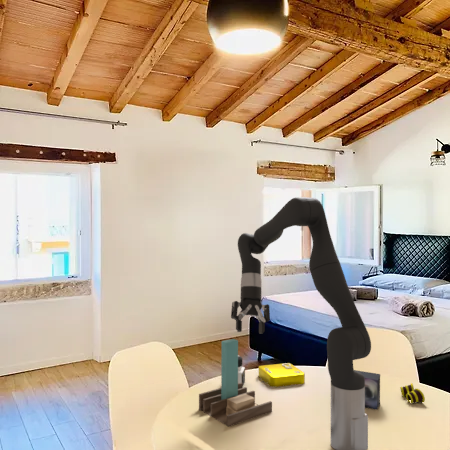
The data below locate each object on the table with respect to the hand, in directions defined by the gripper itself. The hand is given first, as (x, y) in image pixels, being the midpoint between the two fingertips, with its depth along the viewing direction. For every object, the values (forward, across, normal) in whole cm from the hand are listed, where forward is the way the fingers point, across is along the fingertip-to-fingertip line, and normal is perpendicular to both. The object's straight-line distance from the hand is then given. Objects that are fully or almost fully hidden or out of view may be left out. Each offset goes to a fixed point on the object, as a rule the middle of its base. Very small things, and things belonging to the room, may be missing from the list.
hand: (250, 332), depth 154 cm
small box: (+22, +39, -10) cm, 46 cm away
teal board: (+24, -6, +2) cm, 25 cm away
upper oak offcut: (+24, -5, -5) cm, 25 cm away
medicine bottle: (+19, +4, +21) cm, 28 cm away
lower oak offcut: (+26, -4, -4) cm, 27 cm away
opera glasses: (+21, +58, -13) cm, 63 cm away
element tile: (+15, +25, +22) cm, 37 cm away
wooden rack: (+26, -5, 0) cm, 27 cm away
